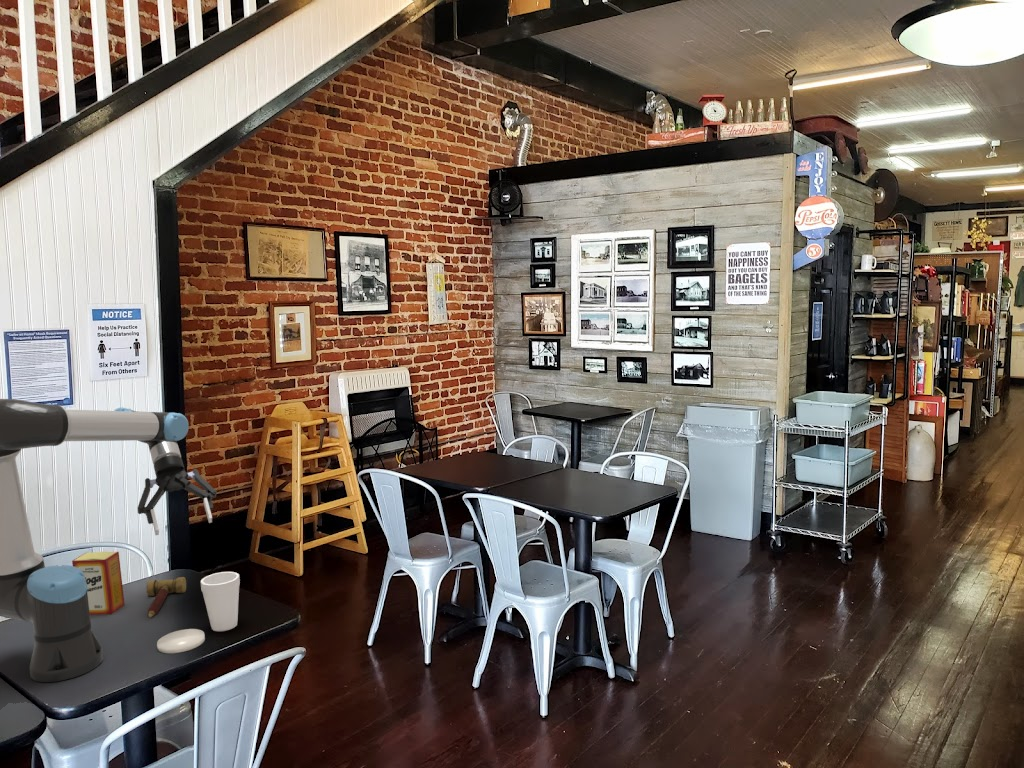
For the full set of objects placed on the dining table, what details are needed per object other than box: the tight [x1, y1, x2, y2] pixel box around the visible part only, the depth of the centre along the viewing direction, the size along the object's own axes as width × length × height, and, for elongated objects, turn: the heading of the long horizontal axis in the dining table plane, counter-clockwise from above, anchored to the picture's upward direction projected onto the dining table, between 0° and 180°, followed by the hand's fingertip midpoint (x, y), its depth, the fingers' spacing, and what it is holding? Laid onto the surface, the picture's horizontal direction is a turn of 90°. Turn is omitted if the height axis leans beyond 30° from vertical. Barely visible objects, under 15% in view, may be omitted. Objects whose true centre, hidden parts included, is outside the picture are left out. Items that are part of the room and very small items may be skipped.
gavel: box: [146, 576, 187, 619], centre depth 221 cm, size 21×5×10 cm
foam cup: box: [200, 571, 241, 632], centre depth 203 cm, size 10×9×13 cm
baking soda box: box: [71, 551, 126, 616], centre depth 218 cm, size 10×6×16 cm
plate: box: [156, 628, 206, 654], centre depth 195 cm, size 11×11×1 cm
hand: (184, 526), depth 210 cm, fingers open, 13 cm apart
